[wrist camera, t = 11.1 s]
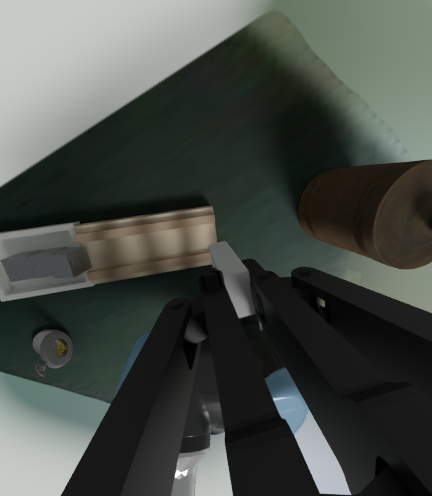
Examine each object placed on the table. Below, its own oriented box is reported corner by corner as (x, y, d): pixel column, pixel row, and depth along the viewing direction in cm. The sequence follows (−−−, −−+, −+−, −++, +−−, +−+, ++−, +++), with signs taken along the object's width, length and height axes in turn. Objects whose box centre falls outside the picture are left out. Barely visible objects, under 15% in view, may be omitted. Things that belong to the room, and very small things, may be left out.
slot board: (210, 205, 40) (213, 207, 37) (217, 258, 44) (220, 264, 40) (82, 223, 38) (70, 227, 34) (99, 277, 41) (91, 286, 37)
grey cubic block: (26, 256, 34) (0, 260, 33) (35, 278, 35) (10, 282, 35) (42, 249, 38) (19, 252, 37) (50, 269, 39) (27, 272, 38)
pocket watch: (30, 346, 43) (-13, 391, 34) (47, 315, 42) (7, 353, 32) (70, 360, 45) (39, 406, 36) (87, 331, 44) (60, 371, 35)
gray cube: (85, 246, 36) (65, 254, 32) (92, 267, 37) (73, 277, 33) (66, 247, 37) (45, 255, 33) (73, 268, 38) (53, 278, 34)
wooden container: (354, 238, 47) (488, 279, 26) (293, 240, 45) (387, 285, 24) (368, 170, 43) (542, 153, 22) (302, 167, 41) (425, 147, 20)
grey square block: (66, 246, 38) (53, 252, 34) (73, 266, 39) (61, 274, 35) (43, 249, 38) (27, 256, 34) (50, 269, 39) (36, 278, 35)
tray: (79, 221, 38) (72, 223, 35) (98, 280, 41) (93, 285, 39) (-17, 234, 36) (-31, 237, 34) (12, 294, 40) (1, 301, 37)
